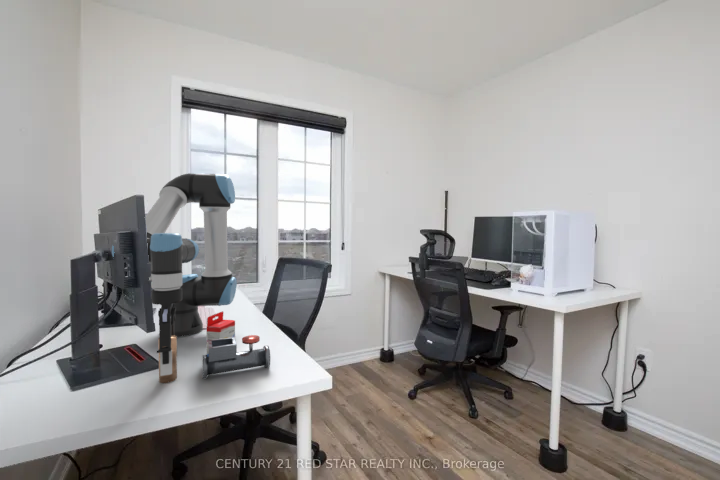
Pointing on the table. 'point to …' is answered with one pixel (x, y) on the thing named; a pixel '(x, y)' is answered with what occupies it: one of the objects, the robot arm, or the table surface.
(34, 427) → the table surface
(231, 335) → the ink box
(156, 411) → the table surface
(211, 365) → the valve body
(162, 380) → the pipe stub
